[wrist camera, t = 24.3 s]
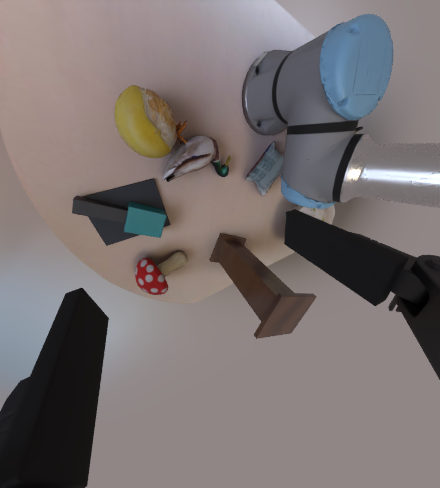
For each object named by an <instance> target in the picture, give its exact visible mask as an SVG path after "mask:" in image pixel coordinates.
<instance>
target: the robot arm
mask: <svg viewBox="0 0 440 488" xmlns="http://www.w3.org/2000/svg"><path fill="white" fill-rule="evenodd" d="M392 65H393V42H392V39H391V35H390V31H389V28H388V26H387V24H386V23H385V22H384V21H383V19H381V18H380V17H379V16H377V15H374V14H364V15H361V16H358V17H356V18H354V19H352V20H350V21H348V22H345V23H341V24H338V25H336V26H335V27H333V28H332V29H330V30H329V31H327V32H326V33H324V34H322V35H320V36H319V37H317V38H315V39H313V40H312V41H310V42H308V43H306V44H304V45H303V46H301V47H299V48H297V49H296V50H294V51H282V50H273V51H270V52H264V53H263V54H262V56H261V57H260V58H258V59H257V60H256V61H255V62H254V63H253V65H252V66H251V67H250V69H249V71H248V73H247V75H246V78H245V81H244V85H243V91H242V105H243V111H244V115H245V118H246V120H247V122H248V124H249V125H250V127H251V128H252V129H253V130H254V131H255V132H257V133H258V134H261V135H275V134H278V133H280V132H281V131H283V130H285V129H286V128H287V136H286V144H285V152H284V160H283V169H282V173H281V179H282V181H281V192H282V194H283V196H284V197H285V198H286V199H287V200H288V201H290V202H292V203H294V204H296V205H299V206H303V207H307V208H315V207H316V208H318V209H326V208H330V207H332V206H333V205H334V204H335V203H336V202H341V203H345V202H347V201H348V200H350V199H352V198H354V197H365V198H372V199H379V200H387V201H394V202H401V203H409V204H416V205H423V206H430V207H438V208H440V143H426V144H376V143H375V142H374V141H373V140H372V138H371V137H370V136H369V135H368V134H355V132H356V131H359V130H361V129H363V127H358V128H357V124H358V121H359V119H361V118H362V117H364V116H366V115H368V114H369V113H370V112H372V111H373V110H374V109H375V107H376V106H377V104H378V101H379V100H381V99H382V97H383V95H384V93H385V91H386V88H387V85H388V82H389V79H390V75H391V71H392ZM356 128H357V129H356ZM284 244H285V245H287V246H288V247H289V248H291V249H292V250H294V251H295V252H297V253H298V254H300V255H301V256H303V257H304V258H306V259H307V260H308V261H310V262H312V263H313V264H314V265H316V266H317V267H319V268H320V269H322V270H323V271H325V272H326V273H328V274H329V275H330V276H332V277H333V278H335V279H336V280H338V281H339V282H341V283H342V284H344V285H345V286H347V287H348V288H350V289H351V290H352V291H354V292H355V293H357V294H358V295H360V296H361V297H363V298H364V299H366V300H367V301H368V302H370V303H371V304H373V305H374V306H376V305H378V304H380V303H381V302H383V301H385V300H386V298H387V297H388V295H389V293H390V291H392V292H393V293H394V294H396V295H395V296H394V298H393V300H392V301H391V303H390V305H389V311H392V310H393V309H394V307H395V305H396V304H397V305H398V307H397V309H396V311H397V312H402V314H403V316H404V318H405V319H406V321H407V323H408V325H409V326H410V328H411V330H412V332H413V334H414V335H415V337H416V339H417V340H418V342H419V344H420V346H421V347H422V349H423V351H424V353H425V355H426V356H427V358H428V360H429V362H430V363H431V365H432V367H433V369H434V371H435V372H436V374H437V376H438V377H439V379H440V257H439V256H434V255H421V256H419V257H414V256H411V255H409V254H406V253H404V252H401V251H399V250H397V249H394V248H392V247H389V246H387V245H385V244H382V243H378V242H377V241H375V240H371V239H370V238H368V237H365V236H363V235H360V234H356V233H352V232H348V231H345V230H343V229H340V228H338V227H336V226H334V225H331V224H329V223H327V222H324V221H322V220H320V219H317V218H315V217H312V216H310V215H308V214H305V213H303V212H301V211H298V210H296V209H293V210H291V211H288V212H286V223H285V242H284ZM108 320H109V318H108V317H107V316H106V315H105V313H104V312H103V311H102V310H101V309H100V308H99V306H98V305H97V304H96V303H95V302H94V301H93V300H92V298H91V297H90V296H89V295H88V294H87V293H86V291H85V290H84V289H83V288H79V289H77V290H74V291H71V292H69V293H66V294H65V296H64V299H63V301H62V304H61V306H60V308H59V310H58V313H57V315H56V317H55V320H54V322H53V324H52V327H51V329H50V331H49V334H48V336H47V338H46V341H45V343H44V345H43V348H42V350H41V352H40V355H39V357H38V359H37V361H36V364H35V366H34V369H33V371H32V373H31V375H30V377H28V378H26V379H24V380H21V381H20V382H19V383H18V385H17V386H16V387H15V389H14V390H13V391H12V393H11V394H10V395H9V397H8V398H7V399H6V401H5V403H4V405H3V407H2V409H1V411H0V488H85V487H86V486H87V482H88V474H89V467H90V459H91V451H92V444H93V436H94V428H95V420H96V413H97V412H96V411H97V404H98V396H99V389H100V382H101V374H102V365H103V359H104V351H105V343H106V335H107V327H108Z"/></svg>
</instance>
